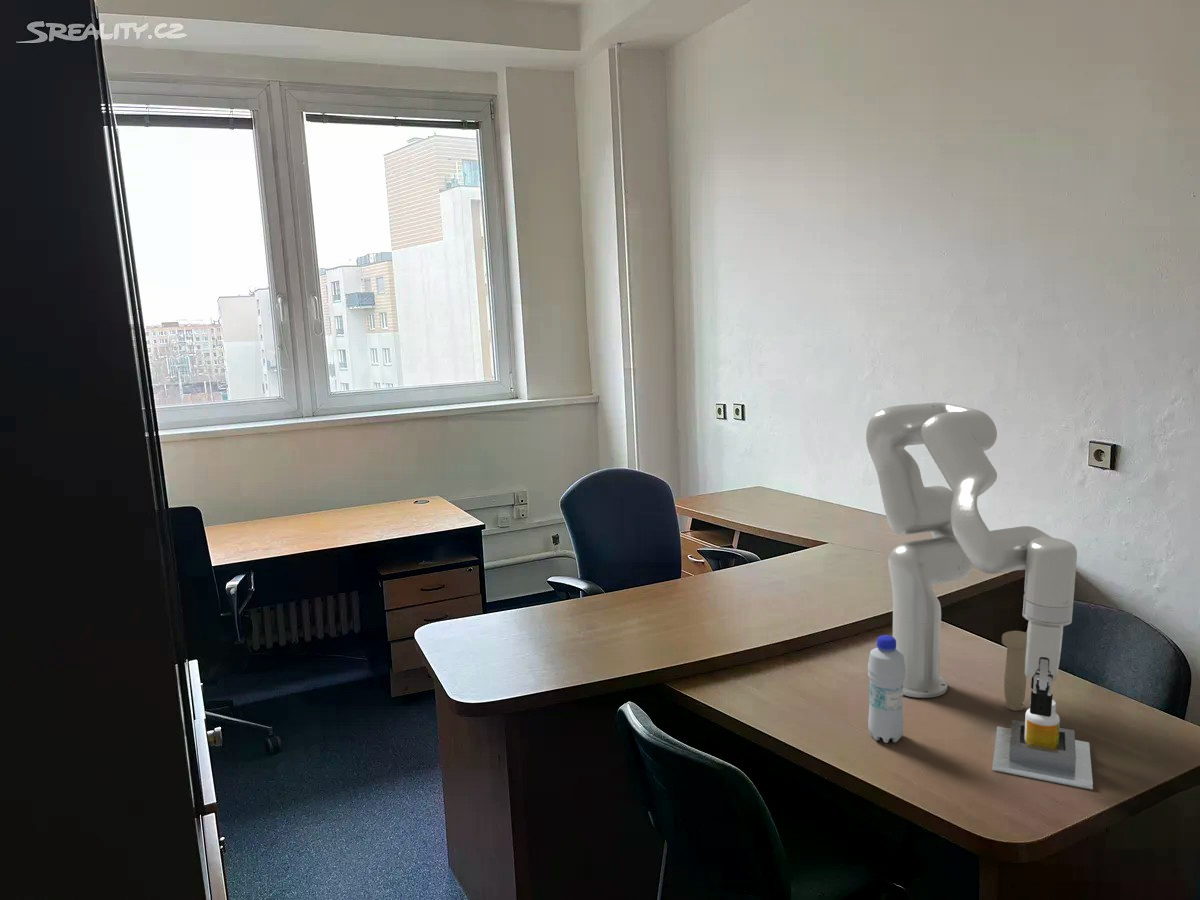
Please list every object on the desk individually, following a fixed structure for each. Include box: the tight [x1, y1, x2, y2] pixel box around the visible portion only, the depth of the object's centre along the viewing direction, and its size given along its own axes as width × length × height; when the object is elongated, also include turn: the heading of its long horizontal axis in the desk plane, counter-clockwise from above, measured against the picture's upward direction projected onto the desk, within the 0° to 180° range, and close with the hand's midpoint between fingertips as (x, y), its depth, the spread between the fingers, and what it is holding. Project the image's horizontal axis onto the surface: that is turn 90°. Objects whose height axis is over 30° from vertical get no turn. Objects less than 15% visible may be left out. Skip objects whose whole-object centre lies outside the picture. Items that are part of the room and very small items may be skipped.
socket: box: [991, 719, 1094, 790], centre depth 148 cm, size 15×15×4 cm
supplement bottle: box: [1024, 699, 1061, 749], centre depth 148 cm, size 5×5×10 cm
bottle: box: [867, 634, 906, 744], centre depth 156 cm, size 7×7×20 cm
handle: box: [1001, 630, 1027, 712], centre depth 166 cm, size 5×6×15 cm
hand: (1040, 702), depth 147 cm, fingers open, 9 cm apart
